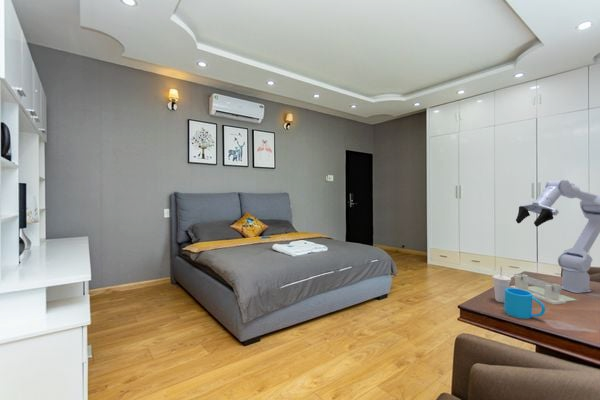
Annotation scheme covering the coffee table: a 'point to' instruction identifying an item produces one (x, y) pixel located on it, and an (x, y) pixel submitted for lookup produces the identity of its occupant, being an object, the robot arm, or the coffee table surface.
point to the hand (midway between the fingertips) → (526, 223)
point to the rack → (548, 296)
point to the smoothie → (500, 286)
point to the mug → (520, 303)
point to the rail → (538, 283)
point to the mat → (559, 295)
